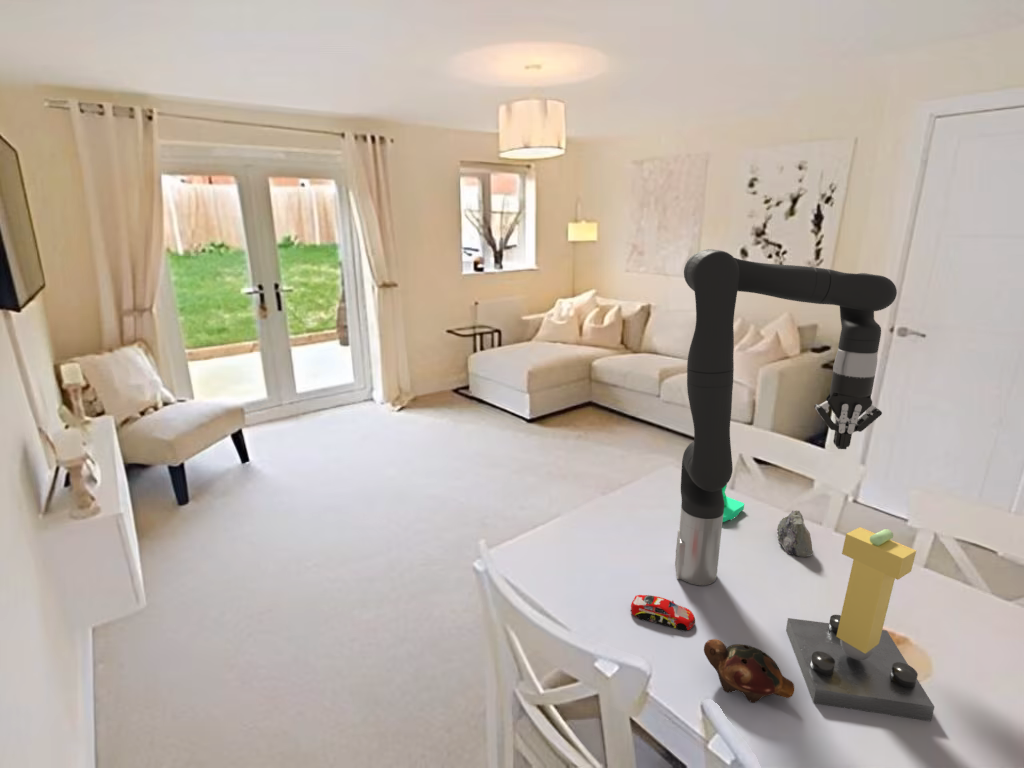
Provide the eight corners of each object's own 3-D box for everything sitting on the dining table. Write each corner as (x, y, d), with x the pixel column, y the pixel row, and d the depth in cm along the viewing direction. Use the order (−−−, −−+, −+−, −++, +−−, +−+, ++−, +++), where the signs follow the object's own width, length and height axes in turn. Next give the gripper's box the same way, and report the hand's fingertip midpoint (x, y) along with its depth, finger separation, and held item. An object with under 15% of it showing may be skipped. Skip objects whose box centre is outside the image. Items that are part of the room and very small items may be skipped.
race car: (696, 619, 115) (698, 603, 114) (693, 636, 110) (694, 619, 109) (634, 602, 121) (635, 586, 119) (628, 617, 116) (629, 601, 115)
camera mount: (723, 526, 150) (726, 492, 147) (698, 515, 156) (701, 483, 153) (744, 511, 158) (748, 479, 155) (720, 502, 163) (723, 471, 160)
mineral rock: (782, 526, 150) (786, 493, 147) (824, 541, 142) (830, 507, 139) (763, 545, 141) (768, 510, 138) (808, 562, 133) (814, 526, 131)
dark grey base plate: (813, 702, 94) (817, 679, 93) (785, 629, 112) (788, 608, 110) (930, 721, 91) (937, 697, 89) (883, 642, 108) (888, 621, 106)
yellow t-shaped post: (873, 677, 95) (905, 548, 89) (821, 646, 102) (848, 524, 96) (886, 667, 98) (918, 540, 91) (835, 636, 105) (862, 518, 99)
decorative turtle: (700, 657, 105) (707, 622, 102) (786, 685, 99) (795, 648, 97) (696, 693, 96) (704, 656, 94) (791, 726, 90) (801, 687, 88)
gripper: (825, 374, 111) (813, 452, 116) (897, 377, 109) (882, 457, 113) (813, 365, 118) (802, 439, 123) (881, 368, 116) (867, 443, 121)
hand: (840, 447), depth 118 cm, fingers closed
